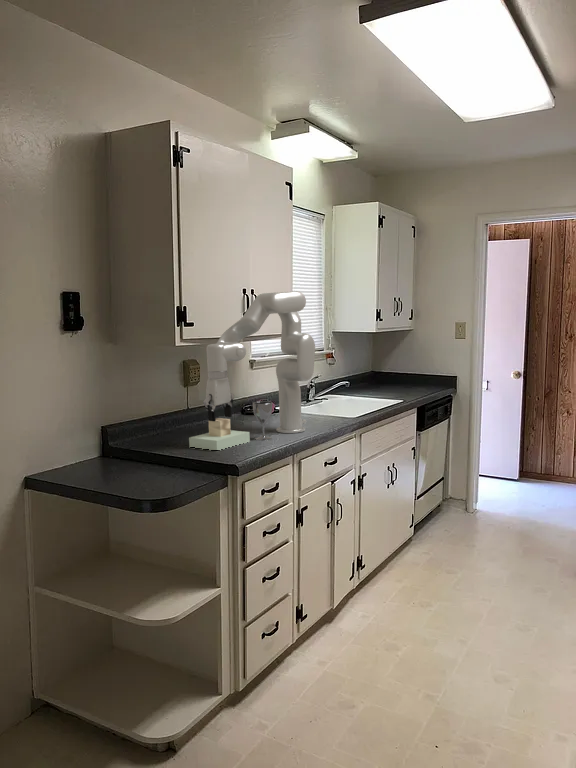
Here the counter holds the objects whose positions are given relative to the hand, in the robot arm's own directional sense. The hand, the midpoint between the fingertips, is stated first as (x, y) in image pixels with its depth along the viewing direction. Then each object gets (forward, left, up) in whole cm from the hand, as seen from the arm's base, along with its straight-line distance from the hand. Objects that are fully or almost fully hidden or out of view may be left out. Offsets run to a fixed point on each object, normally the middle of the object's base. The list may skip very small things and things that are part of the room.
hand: (220, 418), depth 245 cm
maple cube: (+1, 0, -6) cm, 6 cm away
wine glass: (-17, +8, -11) cm, 22 cm away
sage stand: (+1, 0, -10) cm, 10 cm away
